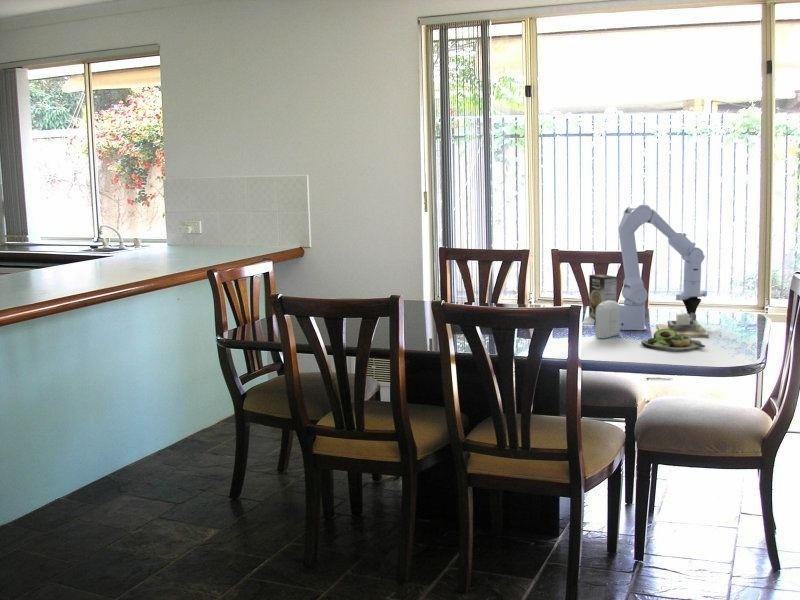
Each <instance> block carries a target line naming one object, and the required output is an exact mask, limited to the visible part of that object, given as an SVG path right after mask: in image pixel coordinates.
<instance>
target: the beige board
mask: <svg viewBox="0 0 800 600" xmlns="http://www.w3.org/2000/svg"><path fill="white" fill-rule="evenodd" d="M696 321H697V323H698V324H699V325H700V331H696V330H695V325H692V321H690V325H676V320H667V323H665V324H664V323H659V324H658V323H656V326H655V327H656V329H657V331H658V330H661V329H672V330H674V331H676V333H677V335H678V336H679V335H680V336H687V337H689V338H709V337H710V336H709V335H710V334H709V333H708V332H707V331H706V330H705V328H704V327H703V326H702V325H701V323H700V322H699V321H698V320H697V319H696Z"/></svg>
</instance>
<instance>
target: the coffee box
mask: <svg viewBox="0 0 800 600" xmlns="http://www.w3.org/2000/svg"><path fill="white" fill-rule="evenodd" d="M588 276H589V277H588V279H589V282H588V285H589V286H588V288H589V289H588V290H589V292H588V293H589V294H588V317H591V318H595V319H596V307H597V306H598V305H599V304H600V303H602V302H604V301H607V300H610V301H616V302H617V285H618V284H617V280H618V278H617V276H613V275H607V274H602V273H600V274H589V275H588Z"/></svg>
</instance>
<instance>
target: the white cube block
mask: <svg viewBox="0 0 800 600" xmlns="http://www.w3.org/2000/svg"><path fill="white" fill-rule="evenodd" d="M675 321H676V325H690V315H689V314H688V313H687V312H680V313H679V312H676V314H675Z"/></svg>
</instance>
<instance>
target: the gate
mask: <svg viewBox="0 0 800 600" xmlns="http://www.w3.org/2000/svg"><path fill="white" fill-rule="evenodd" d="M696 320H697V314H696V312H695V313H694V312H691V313H690V321H692V325H695V330H696V331H700V325H701V324H700V323H699V324H700V325H699V324H698V323H697V321H698V320H697V321H696Z"/></svg>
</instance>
